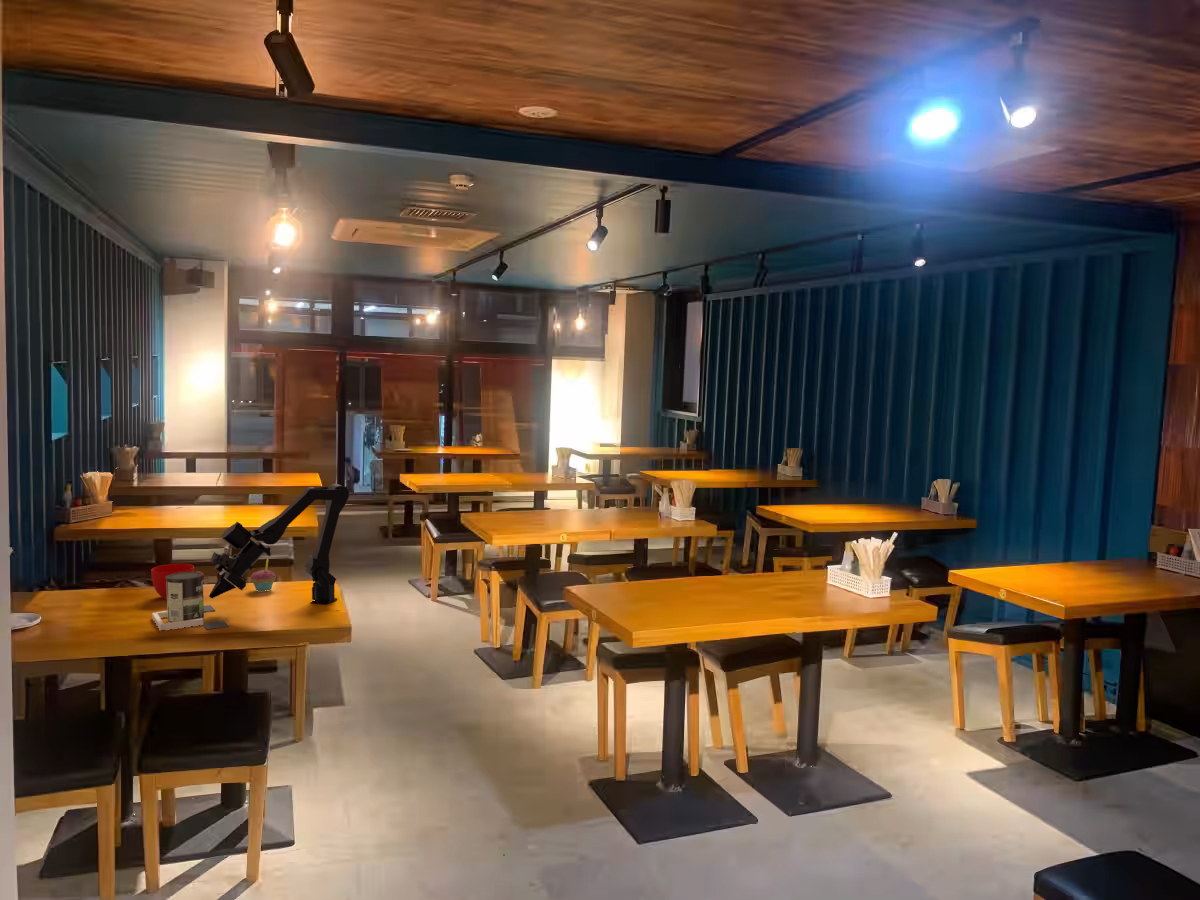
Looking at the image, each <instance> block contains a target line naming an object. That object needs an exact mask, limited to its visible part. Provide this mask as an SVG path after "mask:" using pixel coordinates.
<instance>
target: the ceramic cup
mask: <svg viewBox="0 0 1200 900" xmlns="http://www.w3.org/2000/svg"><path fill="white" fill-rule="evenodd" d="M150 571H151V572H150V575H151V581H152V586H153V588H154V589H155V592H156V593H157V594H158V595H159V596H160V597H161V598H162V599H163V598H164V600H167V584H166V576H168V575H170V574H174V573H180V572H195V565H193V564H190V563H169V564H162V565H157V566H154V567H152V568H151V570H150ZM196 572H200V573H203V572H202V571H199V570H198V571H196ZM204 580H205V574H204V573H203V581H204Z"/></svg>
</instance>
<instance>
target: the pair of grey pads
mask: <svg viewBox="0 0 1200 900" xmlns="http://www.w3.org/2000/svg"><path fill="white" fill-rule="evenodd" d="M210 611H211V612H216V610H215V608H214V606H212V605H211V604H207V605H204V613H210ZM202 626H205V627H204V628H205V629H206V630H208V631H209V630H215V629H223V628H229V626H230V624H228V623H227V622H226V620H224V619H221V620H220V619H219V620H213V621H207V622H203V625H202Z"/></svg>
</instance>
